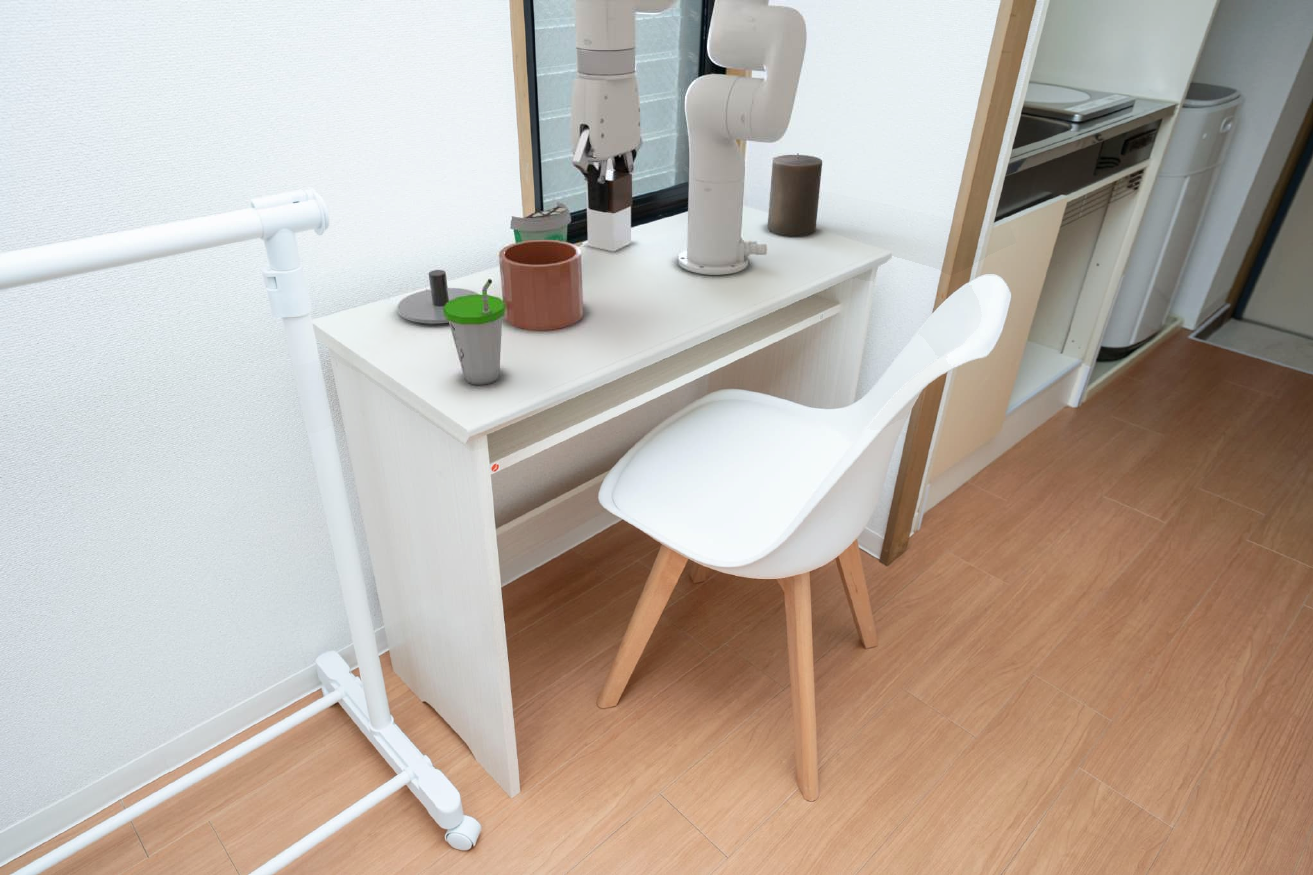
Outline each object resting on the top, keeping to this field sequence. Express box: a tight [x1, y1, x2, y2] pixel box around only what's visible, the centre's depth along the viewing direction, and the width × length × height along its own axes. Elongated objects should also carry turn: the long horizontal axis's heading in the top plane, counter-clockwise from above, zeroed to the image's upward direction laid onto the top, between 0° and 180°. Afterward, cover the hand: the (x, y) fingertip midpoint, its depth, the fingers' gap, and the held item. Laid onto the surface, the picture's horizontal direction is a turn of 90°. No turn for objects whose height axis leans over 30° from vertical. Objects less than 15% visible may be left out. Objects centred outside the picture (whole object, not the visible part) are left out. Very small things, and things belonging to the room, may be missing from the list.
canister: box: [498, 240, 584, 331], centre depth 130 cm, size 12×12×10 cm
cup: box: [443, 278, 506, 386], centre depth 110 cm, size 8×8×15 cm
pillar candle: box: [767, 152, 823, 237], centre depth 167 cm, size 10×10×15 cm
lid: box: [397, 269, 481, 324], centre depth 132 cm, size 13×13×6 cm
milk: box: [585, 152, 632, 252], centre depth 156 cm, size 6×6×22 cm
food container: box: [509, 201, 572, 243], centre depth 148 cm, size 12×6×10 cm, turn 143°
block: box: [587, 170, 633, 214], centre depth 116 cm, size 4×4×4 cm
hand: (610, 204), depth 117 cm, fingers closed on block, 4 cm apart
